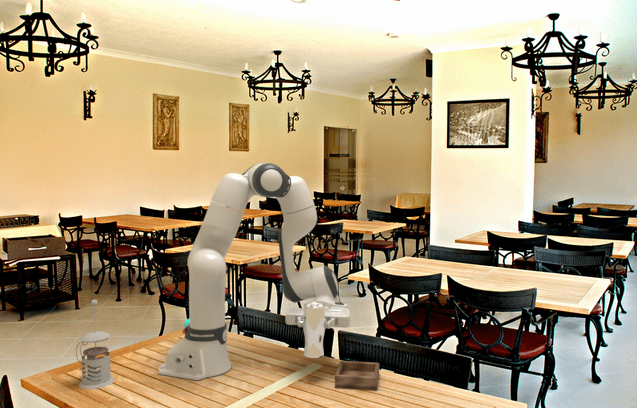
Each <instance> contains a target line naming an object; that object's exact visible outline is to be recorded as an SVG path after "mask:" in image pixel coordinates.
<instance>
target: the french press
mask: <svg viewBox="0 0 637 408" xmlns="http://www.w3.org/2000/svg"><path fill="white" fill-rule="evenodd" d="M97 304H98V300H97V299H92V300H91V302H90V305H93V308H94V311H93V312H94V316H93V317H94V320H96V305H97ZM96 326H97V325H96V324H94V331H91V332H88V333H85V334H84V335H83V336H82V337H80V339H79V340H80V342H78V344H77V345H76V348H75V356H76V360H77V362H78V363H79V364H80V365H81V377H82V379H81V381H80V382H79V384H78V386H79V388H81V389H83V390H94V389H101V388H104V387H106V386H107V387H108V386H110V385H111V384H113V383H114V382H115V378H114V377H113V376H112V375H111V373H112V372H111V353H110V352H109V350H110V348H109V347H108V346H97V343H100V342H103V341H106V340H109V338H110V337H111V334H109V333H107V332H105V331H102V330H96ZM84 343H85V344H84ZM88 343H89V344H93V343H94V346H93V347H88V348H86V349H84V350H83V351H82V346H84V347H85V346H87V345H88ZM79 345H80V347H79ZM78 347H79V354H80V356H81V361H80V360H79V358H78ZM82 354H83V355H82ZM101 355H104V356H101Z"/></svg>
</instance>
